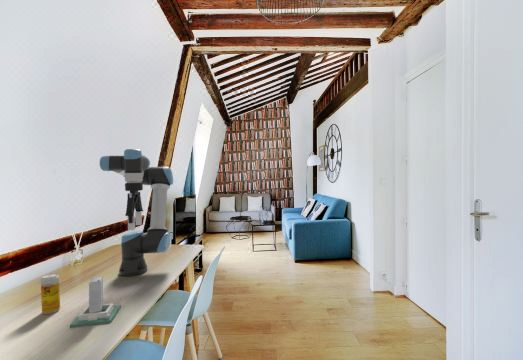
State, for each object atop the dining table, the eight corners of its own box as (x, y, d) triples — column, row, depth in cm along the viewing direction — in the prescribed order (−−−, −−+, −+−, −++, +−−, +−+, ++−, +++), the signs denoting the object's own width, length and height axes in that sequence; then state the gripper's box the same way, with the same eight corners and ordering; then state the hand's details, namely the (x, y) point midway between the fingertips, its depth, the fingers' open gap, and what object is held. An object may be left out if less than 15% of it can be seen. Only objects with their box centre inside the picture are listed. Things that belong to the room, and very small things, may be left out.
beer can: (39, 316, 111) (38, 279, 111) (44, 309, 117) (43, 274, 117) (58, 312, 114) (56, 276, 113) (61, 306, 119) (60, 272, 119)
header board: (84, 311, 115) (84, 303, 115) (121, 306, 117) (120, 299, 117) (69, 327, 102) (69, 319, 102) (111, 322, 105) (110, 314, 105)
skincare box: (91, 307, 111) (90, 277, 111) (104, 304, 113) (103, 275, 113) (88, 313, 106) (87, 282, 106) (102, 311, 108) (101, 280, 107)
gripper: (132, 182, 140) (133, 223, 141) (116, 183, 116) (118, 233, 116) (147, 181, 142) (149, 222, 142) (135, 182, 117) (137, 232, 118)
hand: (135, 227), depth 129 cm, fingers open, 13 cm apart
